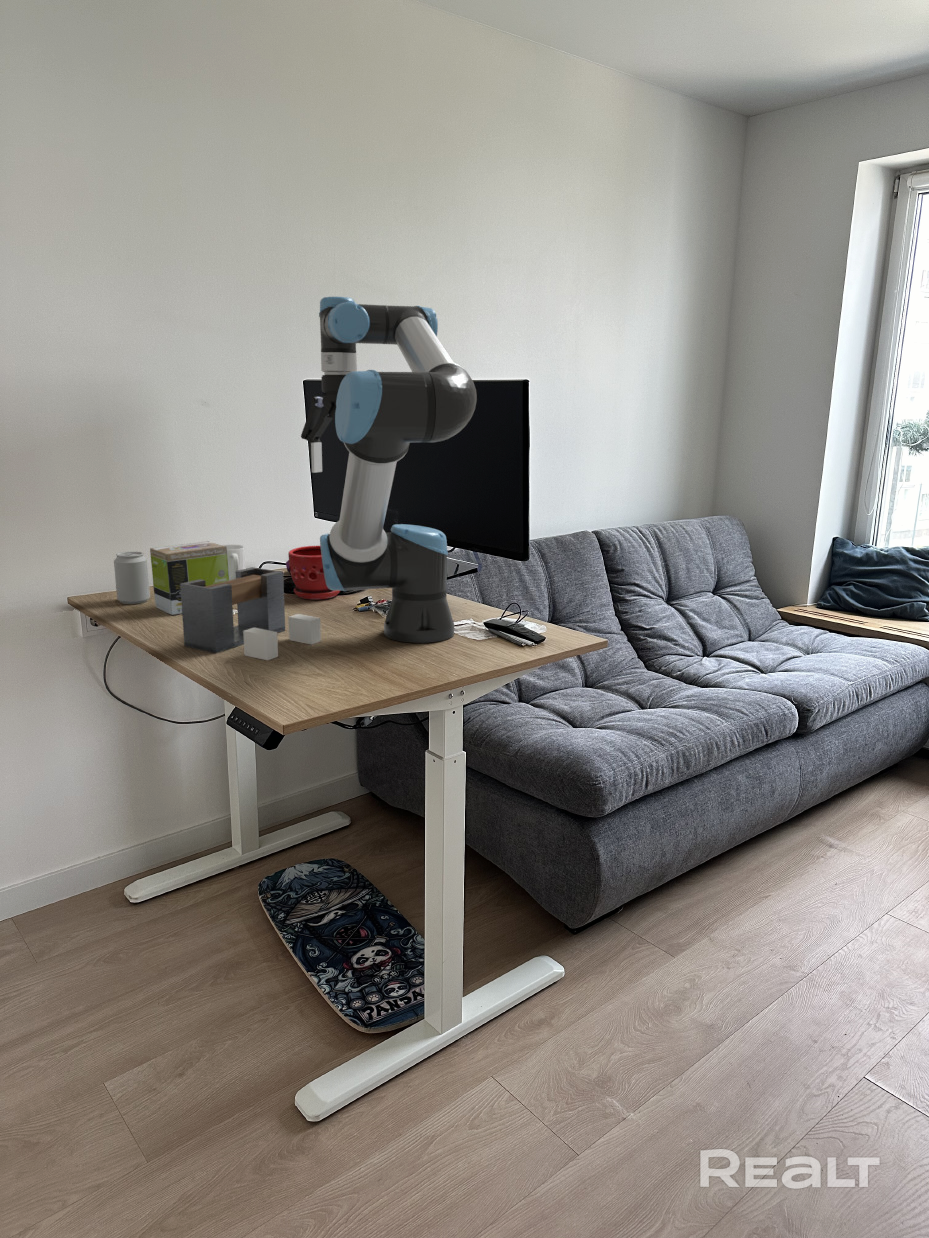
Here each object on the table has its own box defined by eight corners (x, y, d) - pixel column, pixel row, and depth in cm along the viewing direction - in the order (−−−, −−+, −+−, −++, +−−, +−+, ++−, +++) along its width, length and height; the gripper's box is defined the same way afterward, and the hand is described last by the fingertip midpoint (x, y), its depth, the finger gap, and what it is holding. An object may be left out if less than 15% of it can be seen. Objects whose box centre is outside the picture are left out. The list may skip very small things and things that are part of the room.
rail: (268, 595, 186) (267, 576, 185) (212, 610, 173) (211, 590, 172) (254, 592, 188) (253, 574, 187) (198, 607, 175) (197, 588, 174)
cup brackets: (285, 630, 189) (283, 571, 186) (215, 653, 172) (212, 589, 169) (255, 624, 193) (252, 567, 190) (184, 646, 176) (180, 583, 173)
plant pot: (293, 590, 226) (292, 545, 223) (344, 590, 227) (343, 545, 224) (286, 602, 214) (284, 554, 211) (340, 602, 215) (339, 554, 212)
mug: (212, 584, 232) (210, 545, 229) (242, 582, 235) (240, 543, 232) (222, 594, 221) (219, 553, 218) (253, 591, 225) (251, 551, 222)
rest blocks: (320, 641, 182) (320, 617, 180) (267, 660, 168) (266, 635, 167) (298, 636, 184) (297, 613, 183) (244, 655, 171) (243, 630, 170)
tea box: (213, 598, 216) (209, 540, 213) (231, 606, 209) (228, 545, 205) (153, 607, 207) (149, 546, 203) (171, 616, 200) (166, 552, 196)
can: (131, 606, 207) (126, 557, 204) (110, 602, 211) (106, 553, 208) (156, 600, 214) (153, 552, 211) (136, 596, 217) (132, 549, 214)
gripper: (282, 373, 190) (286, 471, 195) (375, 373, 178) (377, 478, 183) (305, 374, 196) (308, 469, 201) (396, 374, 184) (397, 476, 189)
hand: (341, 474), depth 192 cm, fingers open, 13 cm apart
